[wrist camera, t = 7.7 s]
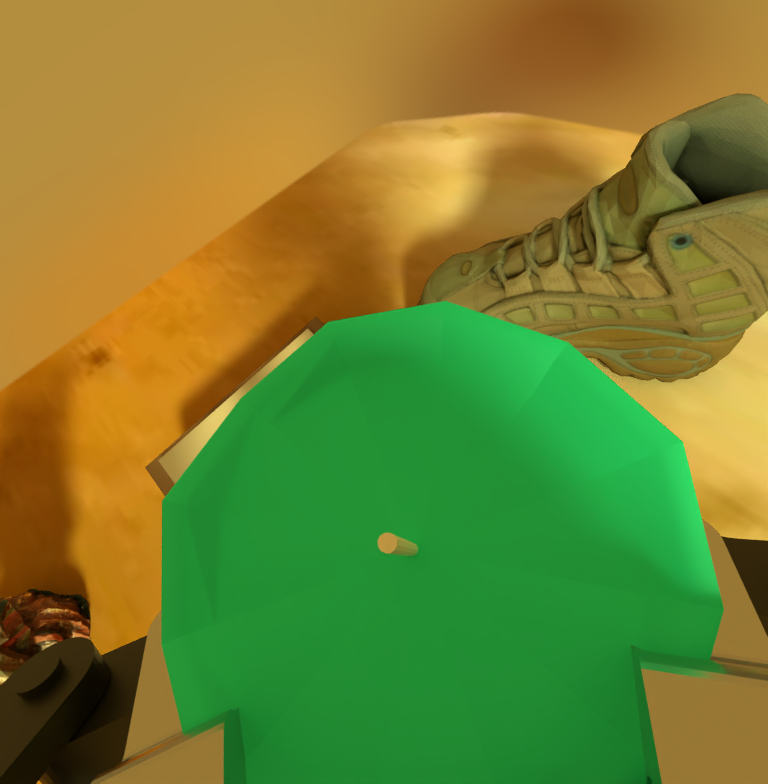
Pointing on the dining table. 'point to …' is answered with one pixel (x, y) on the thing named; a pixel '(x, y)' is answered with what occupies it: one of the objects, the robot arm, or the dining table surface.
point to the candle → (433, 560)
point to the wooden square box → (217, 417)
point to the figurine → (38, 625)
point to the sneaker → (643, 252)
